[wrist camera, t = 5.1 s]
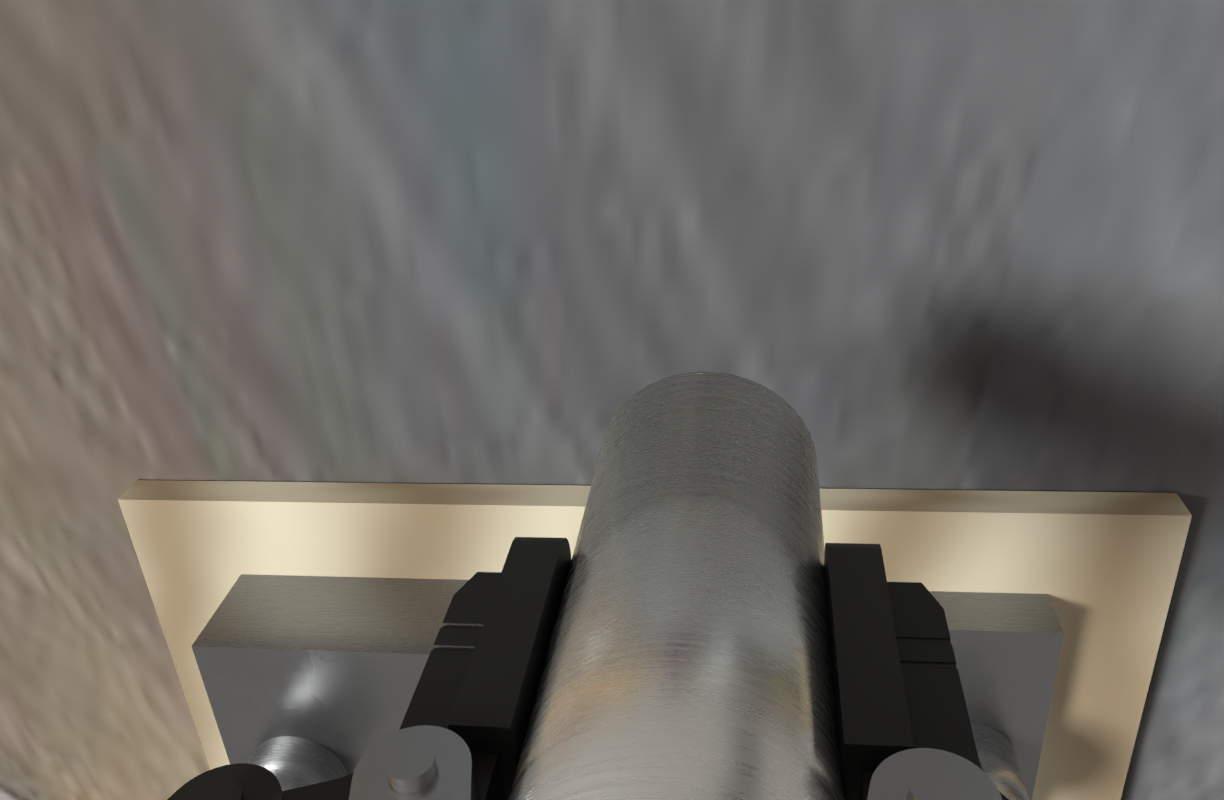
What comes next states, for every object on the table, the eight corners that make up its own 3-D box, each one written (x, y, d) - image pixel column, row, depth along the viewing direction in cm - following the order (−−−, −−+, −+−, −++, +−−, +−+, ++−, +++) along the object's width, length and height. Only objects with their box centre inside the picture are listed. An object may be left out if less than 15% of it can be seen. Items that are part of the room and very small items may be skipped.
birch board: (1176, 493, 26) (1192, 515, 25) (1087, 864, 32) (1097, 892, 31) (136, 480, 29) (117, 499, 28) (247, 817, 36) (234, 841, 35)
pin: (839, 353, 16) (934, 991, 7) (832, 570, 18) (899, 1277, 9) (571, 356, 16) (356, 947, 8) (593, 566, 18) (441, 1223, 10)
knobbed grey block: (1048, 593, 26) (1123, 779, 21) (1005, 832, 31) (1059, 1035, 25) (241, 574, 29) (130, 734, 24) (304, 794, 33) (222, 971, 28)
